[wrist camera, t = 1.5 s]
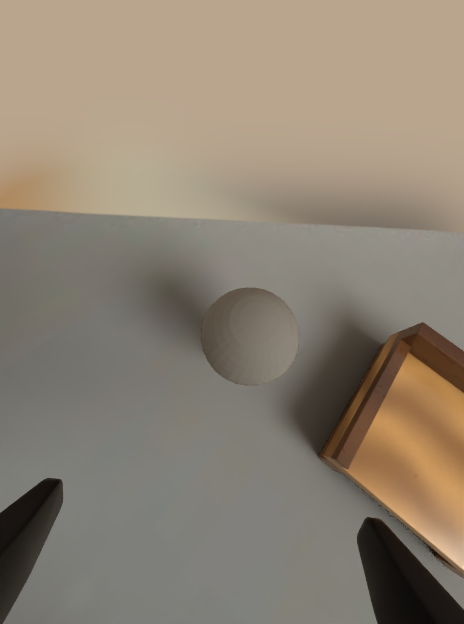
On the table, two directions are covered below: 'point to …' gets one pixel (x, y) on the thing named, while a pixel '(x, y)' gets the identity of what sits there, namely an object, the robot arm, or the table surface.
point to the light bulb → (250, 336)
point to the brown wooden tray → (410, 438)
